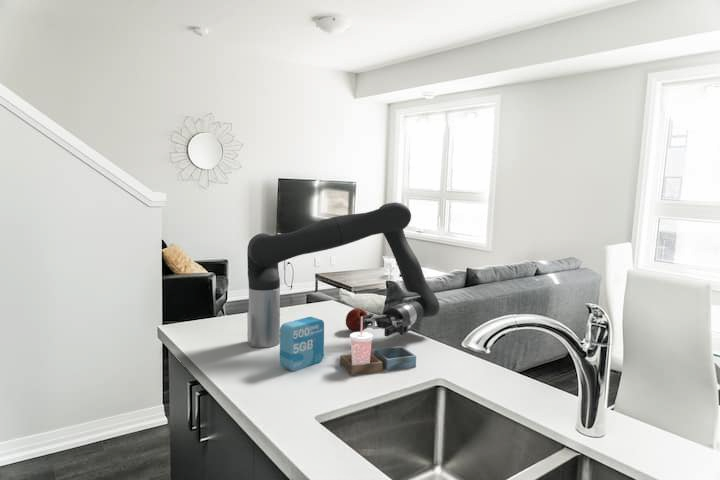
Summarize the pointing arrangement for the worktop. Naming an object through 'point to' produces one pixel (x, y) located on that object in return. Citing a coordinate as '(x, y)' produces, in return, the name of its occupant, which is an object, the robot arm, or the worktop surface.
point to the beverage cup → (361, 346)
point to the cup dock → (380, 361)
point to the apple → (354, 319)
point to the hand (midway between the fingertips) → (372, 329)
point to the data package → (301, 343)
